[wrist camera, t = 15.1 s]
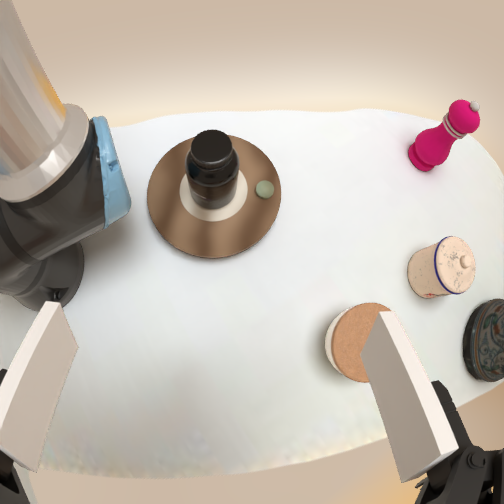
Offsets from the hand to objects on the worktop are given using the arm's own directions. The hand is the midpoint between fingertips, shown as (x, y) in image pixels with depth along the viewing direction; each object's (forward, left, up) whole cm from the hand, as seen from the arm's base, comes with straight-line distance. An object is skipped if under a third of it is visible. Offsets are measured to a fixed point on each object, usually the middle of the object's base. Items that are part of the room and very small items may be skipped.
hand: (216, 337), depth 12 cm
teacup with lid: (+36, +9, -33) cm, 50 cm away
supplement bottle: (-2, +20, -30) cm, 35 cm away
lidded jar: (+19, -2, -33) cm, 38 cm away
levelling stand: (-2, +20, -33) cm, 38 cm away
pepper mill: (+38, +32, -33) cm, 59 cm away
